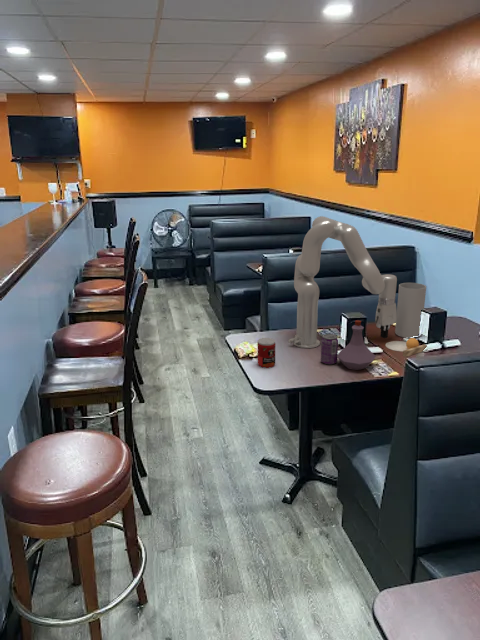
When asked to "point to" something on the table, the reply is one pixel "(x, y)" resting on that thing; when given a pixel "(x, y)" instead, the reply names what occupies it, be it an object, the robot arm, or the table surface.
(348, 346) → the flask
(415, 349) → the stopper rail
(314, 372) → the table surface
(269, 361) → the canned food
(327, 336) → the beverage can
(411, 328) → the cylinder vase
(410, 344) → the ball
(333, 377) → the table surface
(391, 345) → the mark
